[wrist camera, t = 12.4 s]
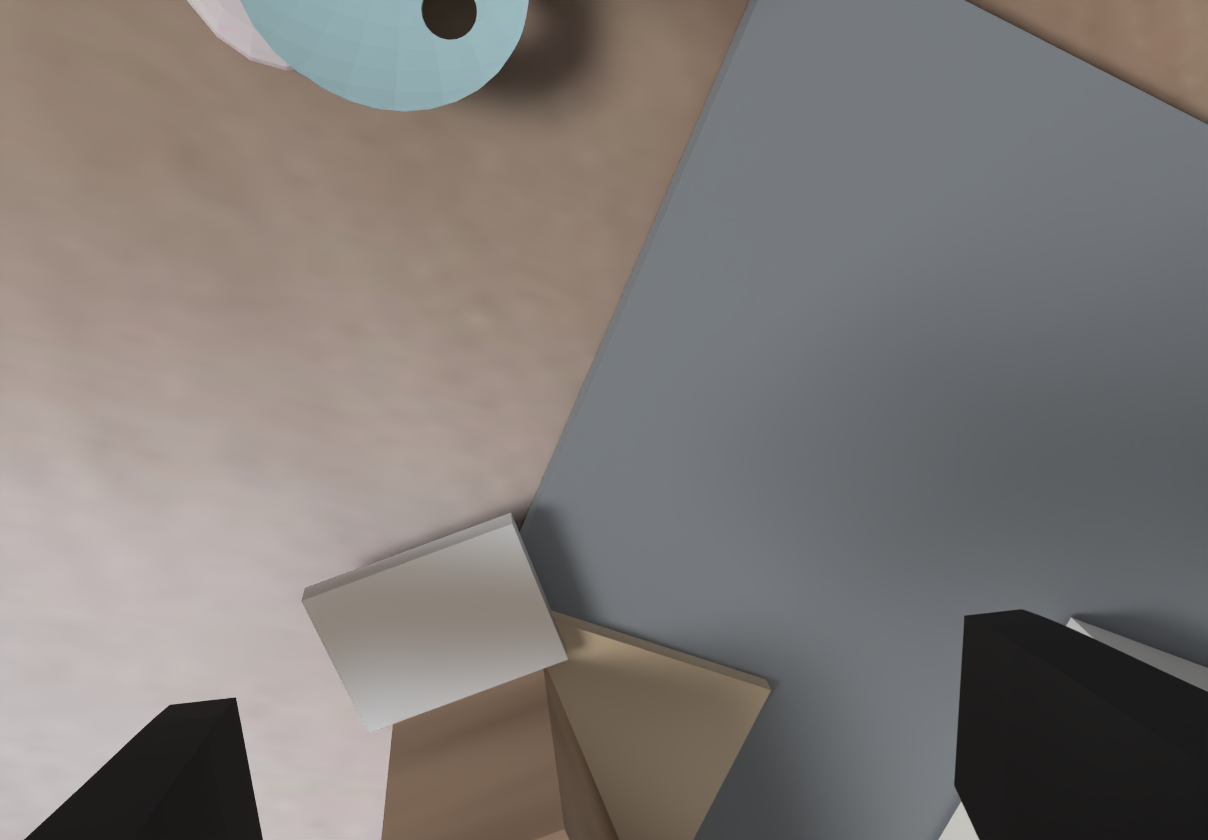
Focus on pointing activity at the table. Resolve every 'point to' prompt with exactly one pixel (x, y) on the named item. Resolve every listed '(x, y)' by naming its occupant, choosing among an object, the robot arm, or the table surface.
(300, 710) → the table surface
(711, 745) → the pad
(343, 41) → the pacifier
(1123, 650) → the tile
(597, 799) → the brown rectangular block
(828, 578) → the mat
